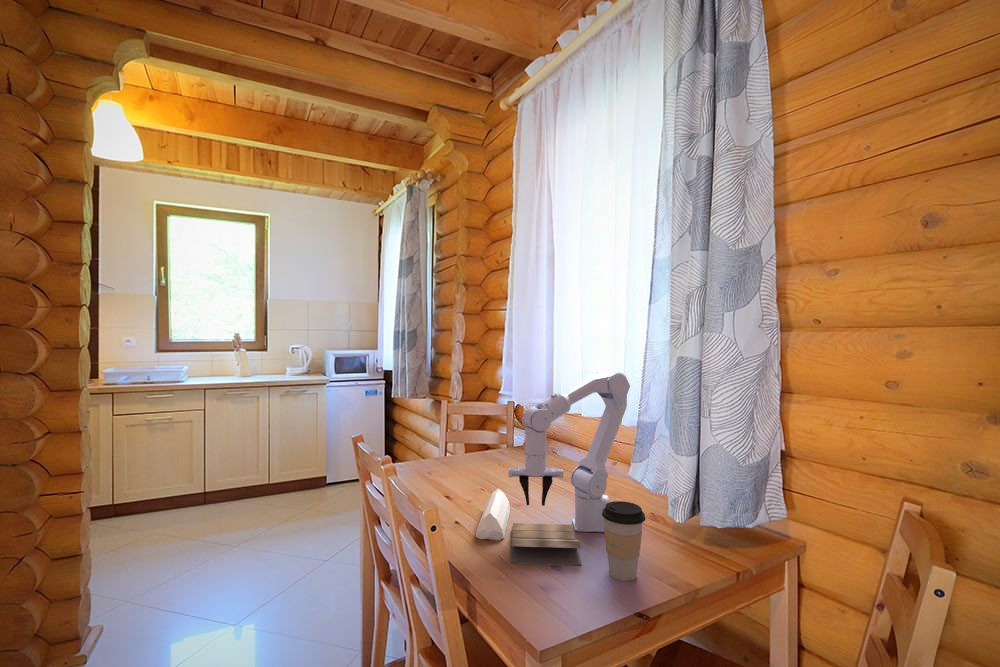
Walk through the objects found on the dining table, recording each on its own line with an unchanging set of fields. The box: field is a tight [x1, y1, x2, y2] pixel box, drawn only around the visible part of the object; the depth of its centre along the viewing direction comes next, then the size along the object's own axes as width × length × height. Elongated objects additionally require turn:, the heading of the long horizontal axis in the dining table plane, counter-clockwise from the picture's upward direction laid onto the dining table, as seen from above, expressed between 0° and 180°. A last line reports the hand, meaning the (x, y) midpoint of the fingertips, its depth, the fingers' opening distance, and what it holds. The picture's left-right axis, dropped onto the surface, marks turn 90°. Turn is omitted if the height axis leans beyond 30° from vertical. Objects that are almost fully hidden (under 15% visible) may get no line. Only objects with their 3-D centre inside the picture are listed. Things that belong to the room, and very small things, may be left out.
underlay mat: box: [510, 525, 582, 566], centre depth 118 cm, size 16×21×1 cm
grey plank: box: [511, 537, 581, 549], centre depth 113 cm, size 16×9×2 cm, turn 88°
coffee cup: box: [602, 500, 646, 582], centre depth 104 cm, size 9×9×15 cm
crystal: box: [475, 488, 511, 541], centre depth 131 cm, size 7×7×24 cm
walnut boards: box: [511, 522, 576, 540], centre depth 122 cm, size 16×9×2 cm, turn 88°
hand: (535, 504), depth 123 cm, fingers open, 3 cm apart
